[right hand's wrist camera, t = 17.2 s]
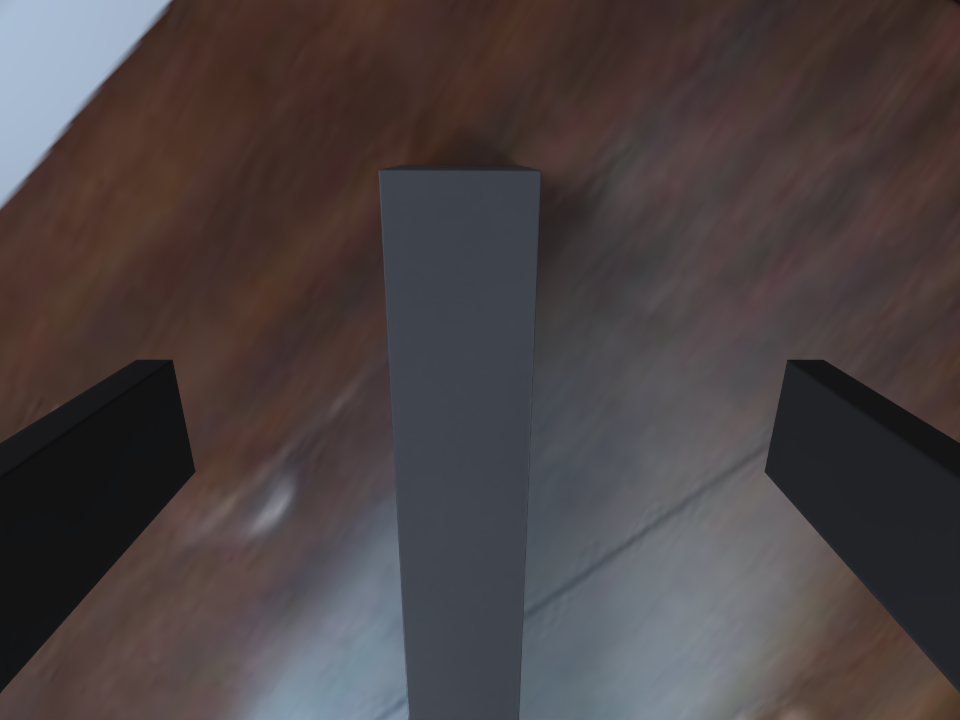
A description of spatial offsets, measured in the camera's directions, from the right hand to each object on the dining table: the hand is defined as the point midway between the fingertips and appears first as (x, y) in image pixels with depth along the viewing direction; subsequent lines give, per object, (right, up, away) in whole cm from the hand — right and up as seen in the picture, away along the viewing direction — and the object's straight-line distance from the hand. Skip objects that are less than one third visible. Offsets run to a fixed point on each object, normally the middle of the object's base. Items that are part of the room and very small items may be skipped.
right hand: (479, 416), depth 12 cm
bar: (-1, -16, +24) cm, 29 cm away
